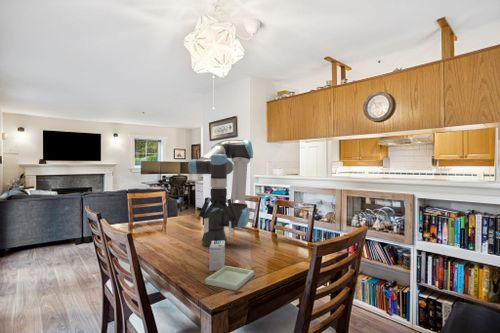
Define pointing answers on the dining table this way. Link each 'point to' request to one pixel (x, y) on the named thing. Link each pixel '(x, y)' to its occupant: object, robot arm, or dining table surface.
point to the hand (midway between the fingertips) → (218, 233)
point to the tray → (230, 277)
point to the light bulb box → (216, 255)
